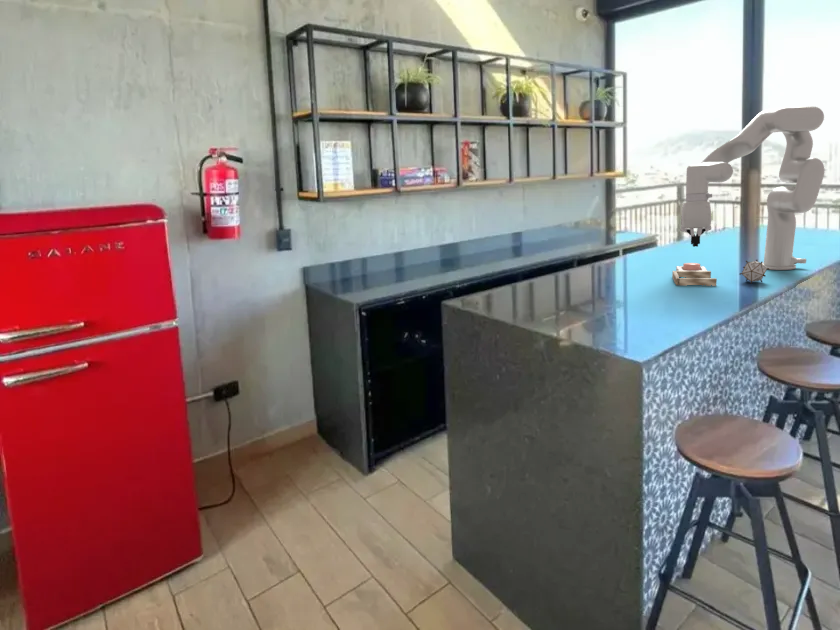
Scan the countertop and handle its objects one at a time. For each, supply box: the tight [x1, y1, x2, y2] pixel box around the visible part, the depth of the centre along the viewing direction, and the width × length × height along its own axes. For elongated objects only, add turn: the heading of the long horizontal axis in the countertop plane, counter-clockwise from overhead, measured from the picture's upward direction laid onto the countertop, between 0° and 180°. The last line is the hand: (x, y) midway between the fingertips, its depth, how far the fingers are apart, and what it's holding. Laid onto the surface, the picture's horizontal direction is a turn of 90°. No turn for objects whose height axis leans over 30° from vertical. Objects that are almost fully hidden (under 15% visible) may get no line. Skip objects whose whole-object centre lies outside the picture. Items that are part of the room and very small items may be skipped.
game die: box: [739, 259, 770, 284], centre depth 208 cm, size 9×8×10 cm
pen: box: [671, 270, 718, 287], centre depth 215 cm, size 13×15×2 cm
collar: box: [675, 265, 708, 271], centre depth 226 cm, size 10×10×2 cm
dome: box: [682, 262, 701, 270], centre depth 226 cm, size 6×6×3 cm
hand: (695, 246), depth 224 cm, fingers closed
